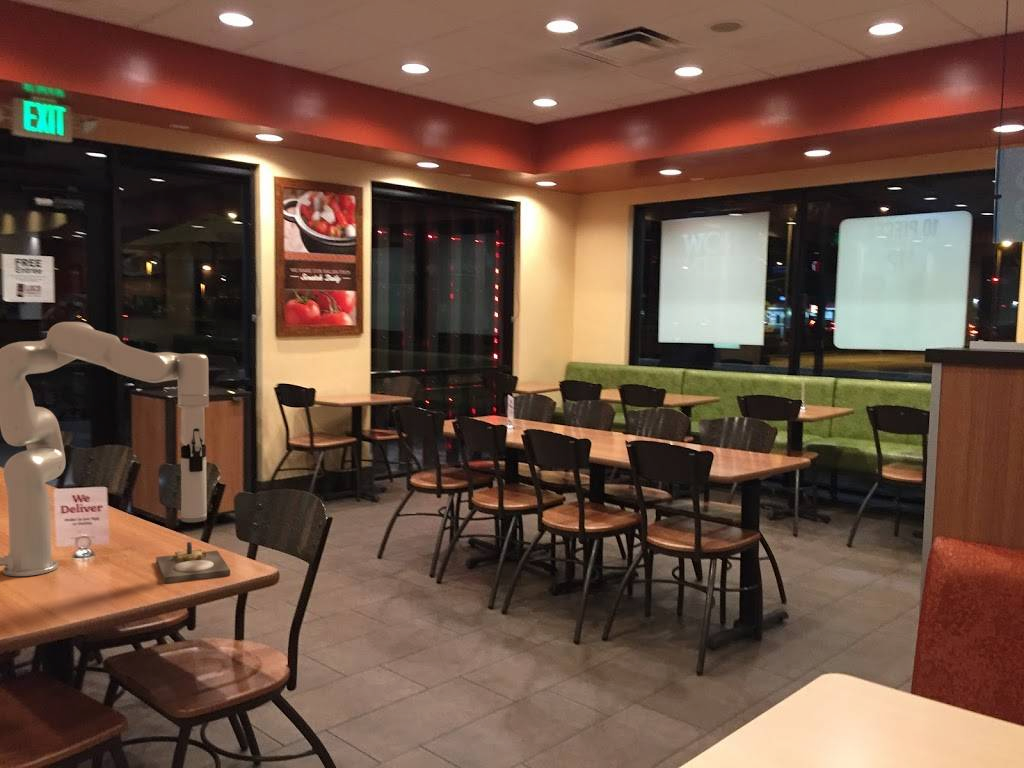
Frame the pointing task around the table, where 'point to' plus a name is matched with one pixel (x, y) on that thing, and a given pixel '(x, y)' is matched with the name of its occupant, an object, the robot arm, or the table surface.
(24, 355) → the robot arm
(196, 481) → the travel mug
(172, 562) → the grey sink model
